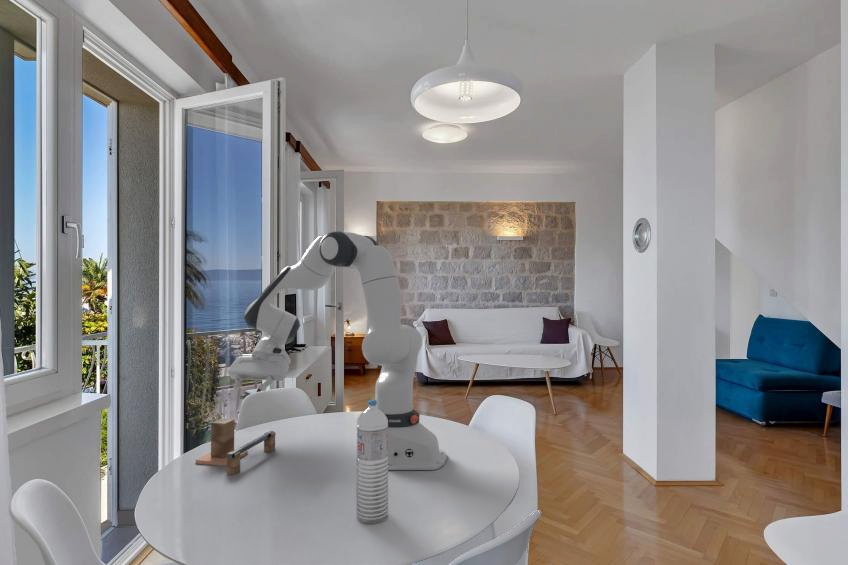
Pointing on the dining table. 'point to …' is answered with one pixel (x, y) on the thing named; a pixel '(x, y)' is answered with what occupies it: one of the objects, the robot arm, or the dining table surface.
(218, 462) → the coaster
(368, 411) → the water bottle
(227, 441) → the walnut block
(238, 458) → the hurdle posts
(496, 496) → the dining table surface
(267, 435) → the metal bar
